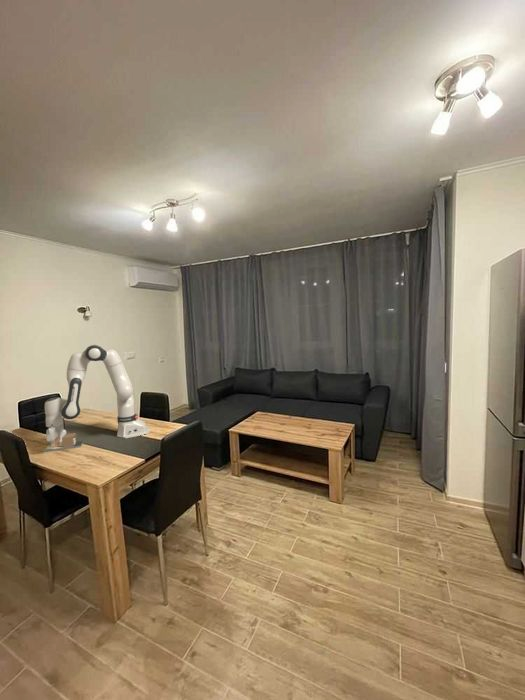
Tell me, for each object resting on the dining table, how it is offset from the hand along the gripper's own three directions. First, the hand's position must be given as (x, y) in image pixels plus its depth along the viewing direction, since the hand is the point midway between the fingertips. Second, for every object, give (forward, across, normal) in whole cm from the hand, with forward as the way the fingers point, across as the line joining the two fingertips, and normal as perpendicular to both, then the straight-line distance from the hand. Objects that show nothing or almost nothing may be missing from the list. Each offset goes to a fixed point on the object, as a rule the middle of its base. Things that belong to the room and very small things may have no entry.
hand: (56, 442), depth 188 cm
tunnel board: (+4, 0, -5) cm, 6 cm away
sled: (+2, 0, -5) cm, 5 cm away
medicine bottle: (+4, +14, +2) cm, 15 cm away
